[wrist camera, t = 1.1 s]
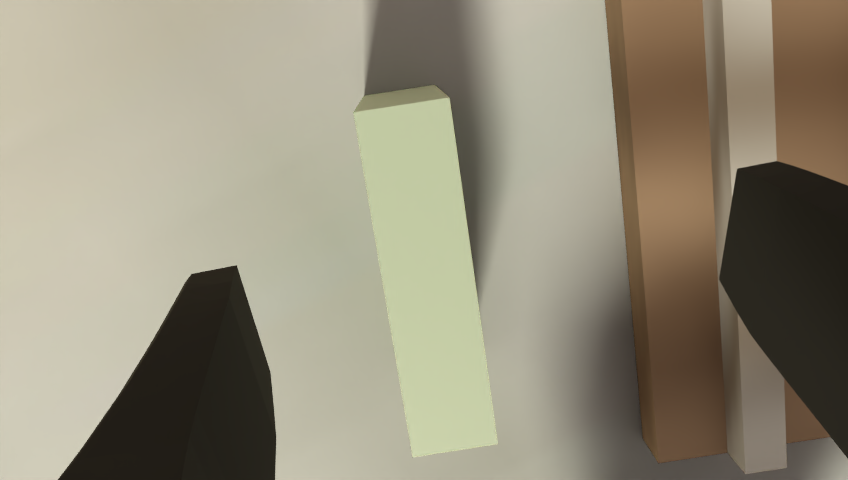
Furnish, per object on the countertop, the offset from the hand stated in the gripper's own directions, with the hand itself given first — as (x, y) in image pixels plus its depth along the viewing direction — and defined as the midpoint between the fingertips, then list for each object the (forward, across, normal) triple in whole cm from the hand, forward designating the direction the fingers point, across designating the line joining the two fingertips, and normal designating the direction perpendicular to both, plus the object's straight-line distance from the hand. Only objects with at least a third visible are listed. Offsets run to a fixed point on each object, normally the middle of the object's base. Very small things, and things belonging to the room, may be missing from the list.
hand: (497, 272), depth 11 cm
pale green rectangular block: (+10, 0, +6) cm, 11 cm away
